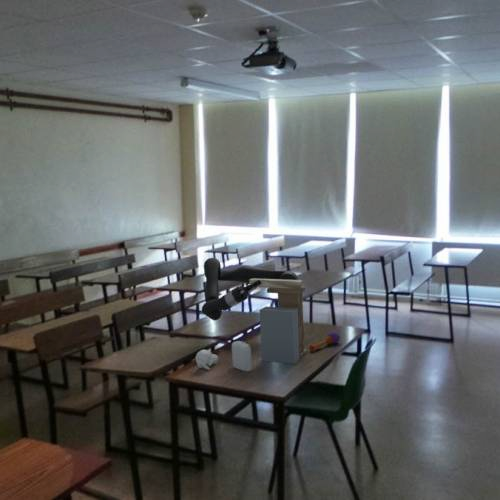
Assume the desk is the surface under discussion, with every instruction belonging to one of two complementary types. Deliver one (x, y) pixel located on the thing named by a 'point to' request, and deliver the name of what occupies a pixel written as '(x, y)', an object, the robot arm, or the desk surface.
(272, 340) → the grey block
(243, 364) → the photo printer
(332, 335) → the kendama
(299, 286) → the wooden batten
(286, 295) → the tan tall block
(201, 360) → the white rabbit figurine
